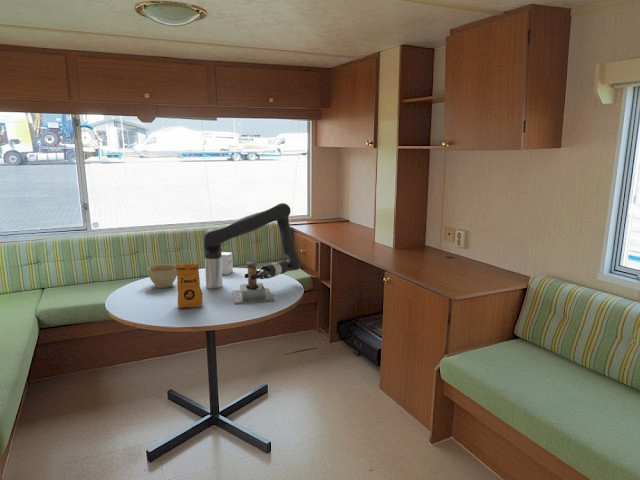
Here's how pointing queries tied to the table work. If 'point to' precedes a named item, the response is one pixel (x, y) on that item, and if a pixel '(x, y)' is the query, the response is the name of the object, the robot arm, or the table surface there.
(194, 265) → the coffee package
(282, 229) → the robot arm
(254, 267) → the walnut pin
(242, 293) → the socket block
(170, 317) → the table surface
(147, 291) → the table surface
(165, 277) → the planter bowl
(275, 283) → the table surface
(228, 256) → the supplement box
